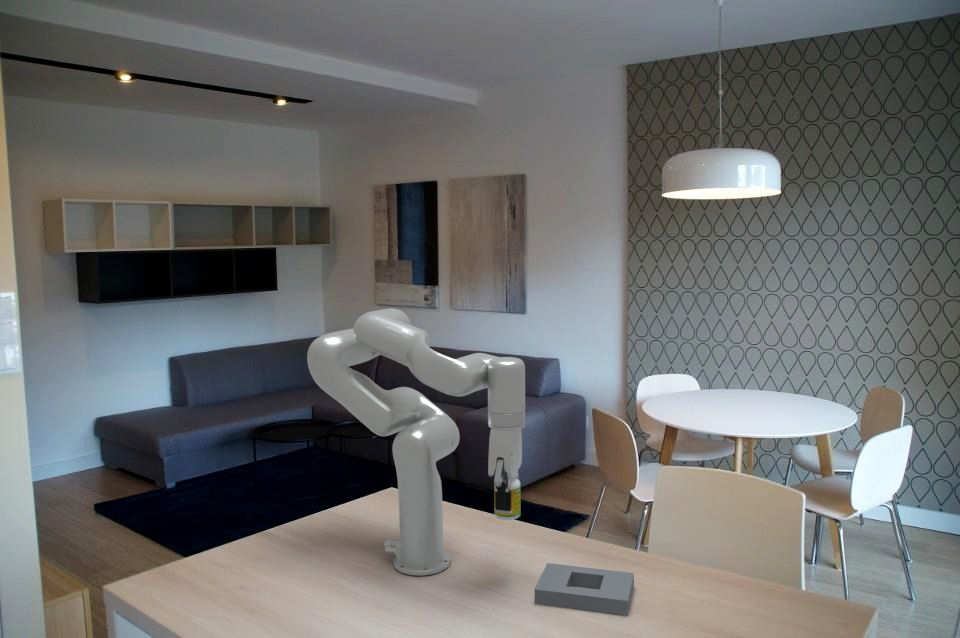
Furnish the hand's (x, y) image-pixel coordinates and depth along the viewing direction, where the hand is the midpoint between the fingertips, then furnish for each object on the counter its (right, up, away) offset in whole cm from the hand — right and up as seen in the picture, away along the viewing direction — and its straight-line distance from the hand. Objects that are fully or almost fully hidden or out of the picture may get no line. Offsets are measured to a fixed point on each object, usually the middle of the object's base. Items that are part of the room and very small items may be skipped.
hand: (507, 503), depth 153 cm
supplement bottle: (0, -3, 0) cm, 3 cm away
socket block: (+15, -17, -4) cm, 24 cm away
